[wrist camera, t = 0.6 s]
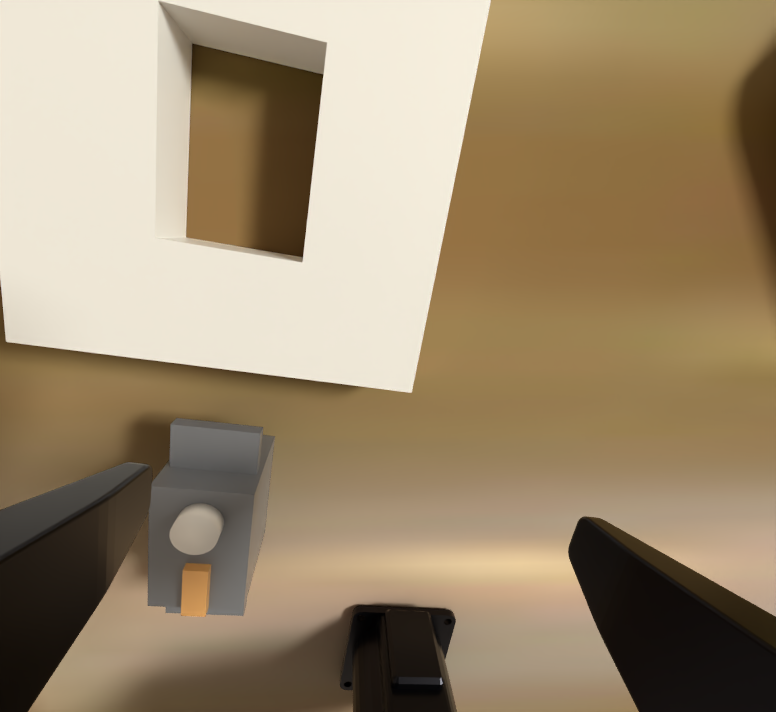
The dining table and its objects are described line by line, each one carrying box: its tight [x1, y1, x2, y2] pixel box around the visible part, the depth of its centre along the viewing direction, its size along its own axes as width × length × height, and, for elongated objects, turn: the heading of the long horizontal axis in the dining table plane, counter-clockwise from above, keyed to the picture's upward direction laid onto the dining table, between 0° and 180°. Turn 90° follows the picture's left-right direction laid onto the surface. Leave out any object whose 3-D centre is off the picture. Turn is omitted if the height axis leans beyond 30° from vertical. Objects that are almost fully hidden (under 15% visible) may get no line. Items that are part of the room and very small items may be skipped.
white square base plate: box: [0, 0, 491, 393], centre depth 16 cm, size 17×16×3 cm
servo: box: [148, 418, 275, 617], centre depth 19 cm, size 10×4×6 cm, turn 170°
